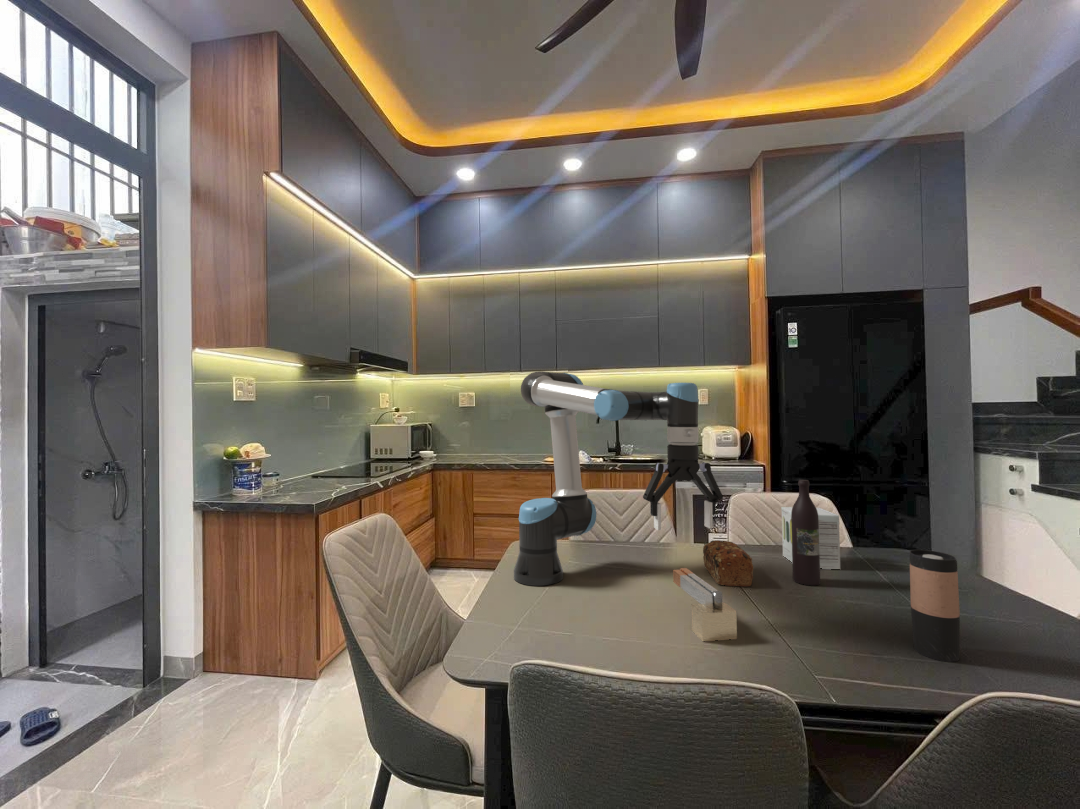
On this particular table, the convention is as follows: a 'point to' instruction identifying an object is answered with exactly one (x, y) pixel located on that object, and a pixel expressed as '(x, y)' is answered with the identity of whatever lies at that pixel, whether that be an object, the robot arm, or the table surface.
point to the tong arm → (715, 593)
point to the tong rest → (707, 612)
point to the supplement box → (827, 537)
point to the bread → (728, 563)
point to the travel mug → (935, 604)
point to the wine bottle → (805, 538)
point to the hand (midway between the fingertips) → (683, 528)
